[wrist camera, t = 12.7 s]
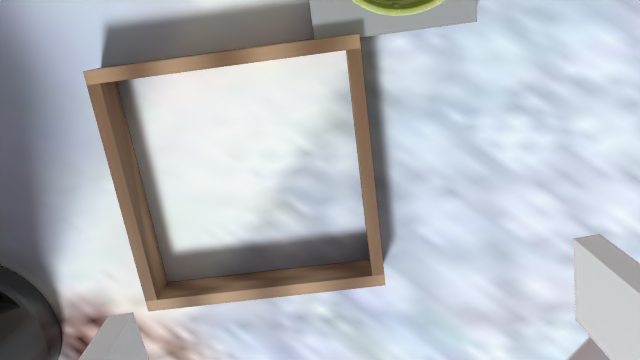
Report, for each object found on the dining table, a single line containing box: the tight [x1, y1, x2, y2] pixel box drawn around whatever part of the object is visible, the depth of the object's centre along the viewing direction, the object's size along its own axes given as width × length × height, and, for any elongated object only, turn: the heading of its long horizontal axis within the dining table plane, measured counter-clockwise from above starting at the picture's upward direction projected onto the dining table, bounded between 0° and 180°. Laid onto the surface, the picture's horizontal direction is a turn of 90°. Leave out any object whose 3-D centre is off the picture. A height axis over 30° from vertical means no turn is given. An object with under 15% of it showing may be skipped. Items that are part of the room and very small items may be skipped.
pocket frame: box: [83, 33, 385, 311], centre depth 41 cm, size 21×21×3 cm
